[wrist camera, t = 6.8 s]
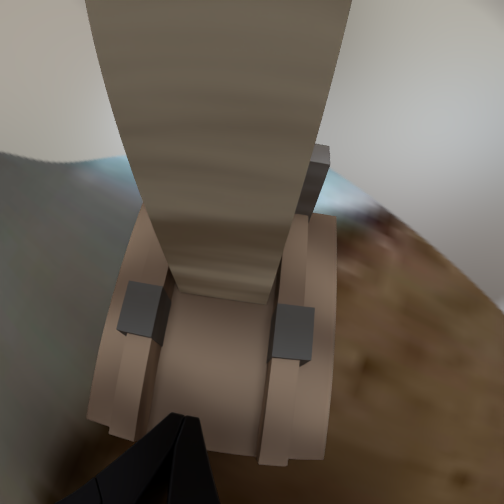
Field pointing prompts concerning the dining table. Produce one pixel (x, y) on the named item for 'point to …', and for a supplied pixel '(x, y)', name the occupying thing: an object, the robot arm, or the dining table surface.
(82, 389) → the dining table surface
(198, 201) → the birch peg
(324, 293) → the peg housing
